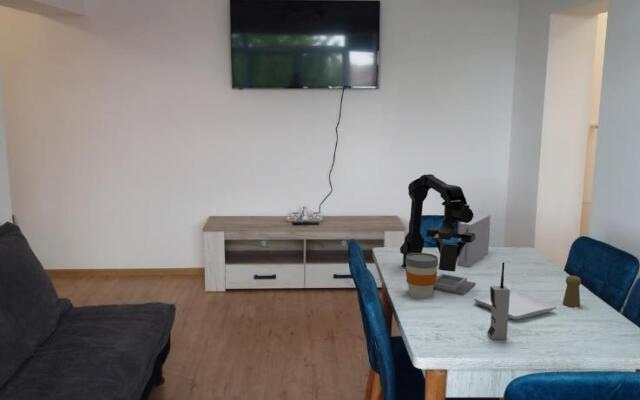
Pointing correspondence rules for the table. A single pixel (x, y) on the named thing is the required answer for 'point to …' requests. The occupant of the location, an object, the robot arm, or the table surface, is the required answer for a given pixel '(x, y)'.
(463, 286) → the charging dock
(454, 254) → the battery charger
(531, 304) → the salad plate
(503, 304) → the vintage mobile phone
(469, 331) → the table surface
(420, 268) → the reusable coffee cup
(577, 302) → the cork
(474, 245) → the game console
